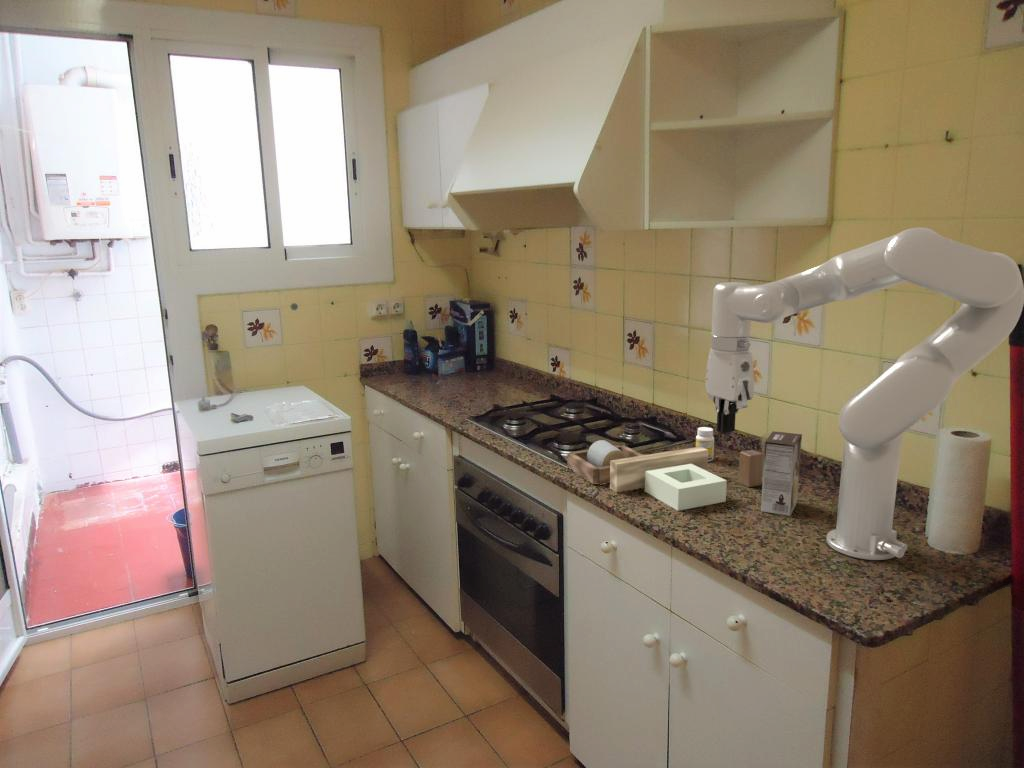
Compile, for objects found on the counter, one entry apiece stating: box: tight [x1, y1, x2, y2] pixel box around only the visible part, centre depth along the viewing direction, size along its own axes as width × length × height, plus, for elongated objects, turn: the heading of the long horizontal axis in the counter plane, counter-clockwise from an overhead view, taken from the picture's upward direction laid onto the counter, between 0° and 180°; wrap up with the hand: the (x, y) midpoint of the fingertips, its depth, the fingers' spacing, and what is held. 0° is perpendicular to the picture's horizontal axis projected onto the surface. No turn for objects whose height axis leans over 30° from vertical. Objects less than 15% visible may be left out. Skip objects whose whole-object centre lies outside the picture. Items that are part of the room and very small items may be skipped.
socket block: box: [644, 464, 728, 512], centre depth 164 cm, size 13×13×5 cm
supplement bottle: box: [695, 426, 715, 462], centre depth 189 cm, size 5×5×8 cm
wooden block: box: [738, 449, 764, 488], centre depth 171 cm, size 4×4×8 cm
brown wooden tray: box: [566, 444, 644, 485], centre depth 181 cm, size 15×17×4 cm
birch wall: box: [609, 446, 709, 494], centre depth 172 cm, size 3×26×7 cm, turn 113°
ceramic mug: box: [587, 439, 625, 468], centre depth 181 cm, size 11×8×8 cm
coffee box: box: [760, 430, 803, 517], centre depth 156 cm, size 9×6×16 cm
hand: (725, 430), depth 148 cm, fingers closed
